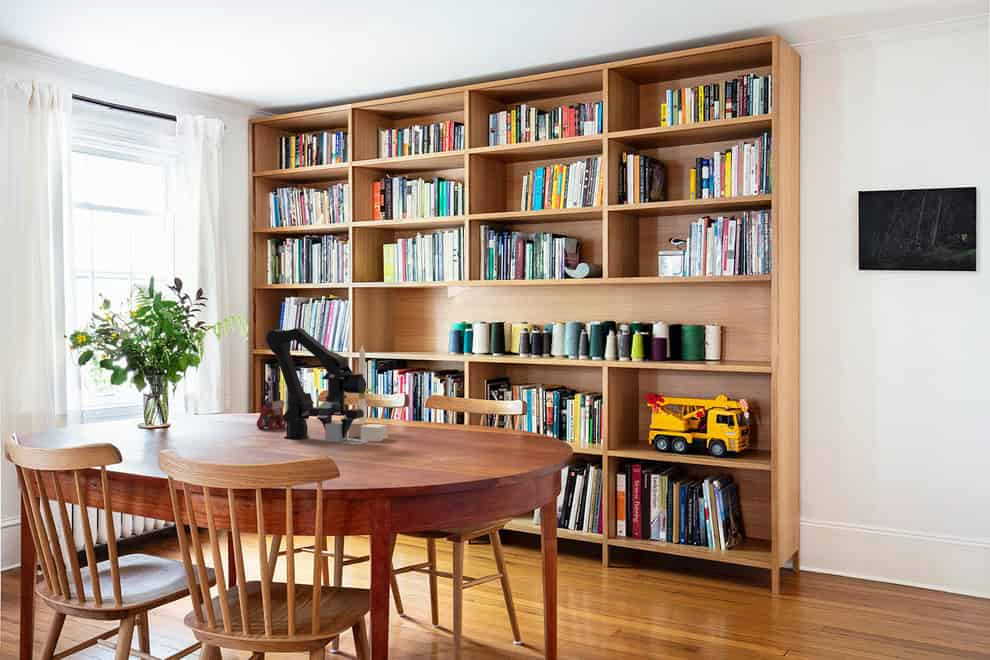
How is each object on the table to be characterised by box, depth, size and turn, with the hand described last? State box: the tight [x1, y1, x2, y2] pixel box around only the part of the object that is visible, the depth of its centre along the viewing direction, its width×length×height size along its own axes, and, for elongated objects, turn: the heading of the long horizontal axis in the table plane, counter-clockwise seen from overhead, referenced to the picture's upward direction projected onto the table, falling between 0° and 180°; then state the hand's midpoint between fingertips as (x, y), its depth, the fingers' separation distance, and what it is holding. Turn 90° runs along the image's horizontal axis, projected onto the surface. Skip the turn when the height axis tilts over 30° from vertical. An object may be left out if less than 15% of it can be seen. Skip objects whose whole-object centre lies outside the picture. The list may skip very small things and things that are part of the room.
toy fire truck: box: [256, 399, 287, 431], centre depth 333 cm, size 7×12×10 cm, turn 153°
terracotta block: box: [347, 421, 367, 438], centre depth 314 cm, size 5×5×5 cm
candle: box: [358, 344, 374, 422], centre depth 327 cm, size 10×10×32 cm
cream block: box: [360, 423, 388, 442], centre depth 307 cm, size 7×7×5 cm
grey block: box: [324, 421, 348, 443], centre depth 304 cm, size 6×6×6 cm
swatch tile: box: [341, 438, 368, 445], centre depth 300 cm, size 7×7×1 cm
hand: (336, 437), depth 304 cm, fingers closed on grey block, 5 cm apart
